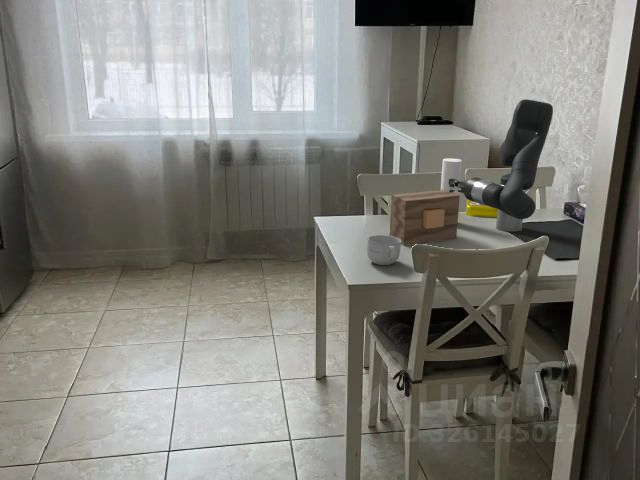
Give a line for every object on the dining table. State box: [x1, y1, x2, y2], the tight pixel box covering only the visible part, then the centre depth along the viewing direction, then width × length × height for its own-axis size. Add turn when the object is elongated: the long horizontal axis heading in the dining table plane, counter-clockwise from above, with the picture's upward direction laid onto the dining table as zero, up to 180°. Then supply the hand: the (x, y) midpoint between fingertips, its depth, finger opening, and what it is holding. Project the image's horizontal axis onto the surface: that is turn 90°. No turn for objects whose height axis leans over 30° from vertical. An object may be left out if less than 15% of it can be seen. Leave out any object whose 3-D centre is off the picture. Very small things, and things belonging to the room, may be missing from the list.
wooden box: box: [389, 189, 461, 246], centre depth 224 cm, size 10×22×16 cm, turn 113°
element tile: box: [465, 198, 498, 219], centre depth 262 cm, size 15×15×5 cm
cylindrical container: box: [440, 157, 463, 196], centre depth 243 cm, size 7×7×25 cm
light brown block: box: [422, 208, 445, 229], centre depth 221 cm, size 8×7×6 cm
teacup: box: [366, 234, 402, 266], centre depth 199 cm, size 14×11×8 cm
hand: (450, 181), depth 207 cm, fingers closed
